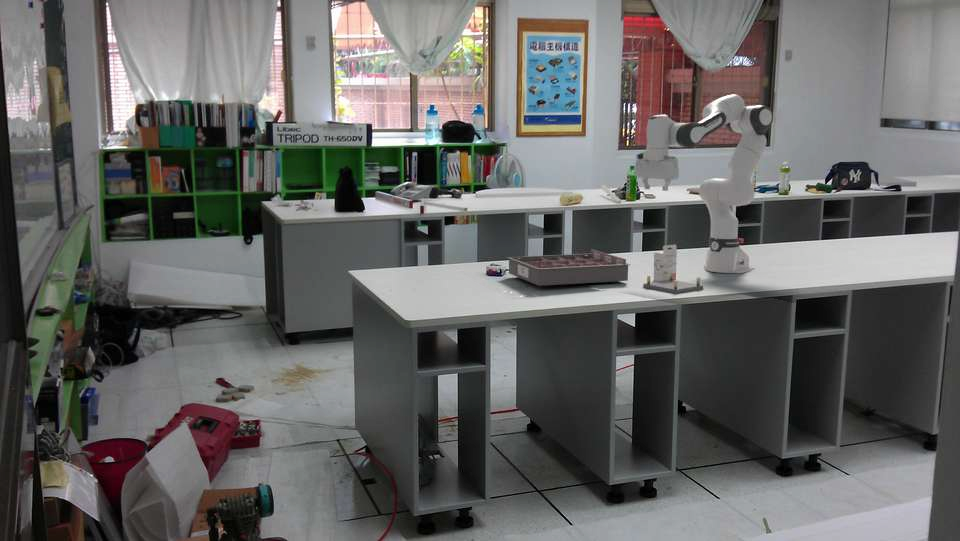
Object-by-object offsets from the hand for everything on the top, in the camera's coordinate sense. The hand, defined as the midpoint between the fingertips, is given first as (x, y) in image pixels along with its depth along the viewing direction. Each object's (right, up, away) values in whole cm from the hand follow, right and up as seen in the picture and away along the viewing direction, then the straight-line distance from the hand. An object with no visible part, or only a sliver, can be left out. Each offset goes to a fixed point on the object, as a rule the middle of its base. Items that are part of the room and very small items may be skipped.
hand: (656, 189), depth 361 cm
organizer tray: (-36, -37, -1) cm, 52 cm away
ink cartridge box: (+3, -37, -1) cm, 37 cm away
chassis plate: (+3, -40, -18) cm, 44 cm away
